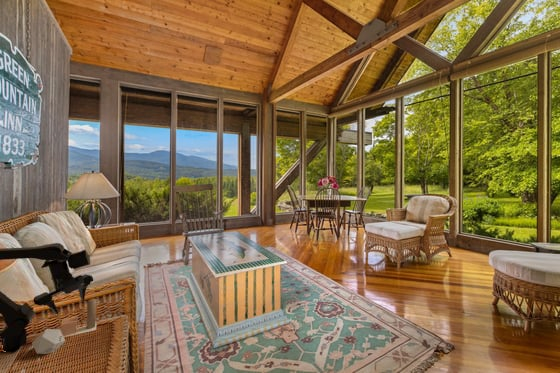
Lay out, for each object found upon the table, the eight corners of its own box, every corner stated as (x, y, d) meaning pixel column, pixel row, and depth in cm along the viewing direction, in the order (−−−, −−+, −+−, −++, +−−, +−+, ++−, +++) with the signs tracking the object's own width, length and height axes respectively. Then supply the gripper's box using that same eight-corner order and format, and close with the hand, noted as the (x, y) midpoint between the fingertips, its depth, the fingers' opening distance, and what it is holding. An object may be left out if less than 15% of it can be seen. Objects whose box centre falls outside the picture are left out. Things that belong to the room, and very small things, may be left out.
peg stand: (56, 341, 101) (58, 309, 101) (59, 332, 107) (60, 302, 107) (96, 331, 109) (97, 302, 109) (96, 324, 115) (97, 296, 114)
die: (35, 365, 89) (58, 339, 92) (19, 349, 90) (43, 324, 93) (54, 358, 97) (75, 334, 100) (39, 343, 98) (60, 320, 101)
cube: (60, 336, 103) (61, 324, 103) (62, 330, 107) (62, 319, 107) (75, 333, 106) (76, 321, 106) (76, 327, 110) (77, 316, 110)
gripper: (39, 287, 91) (51, 325, 93) (95, 264, 107) (104, 296, 110) (27, 284, 96) (39, 320, 98) (82, 262, 113) (91, 293, 115)
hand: (70, 307), depth 105 cm, fingers open, 9 cm apart
